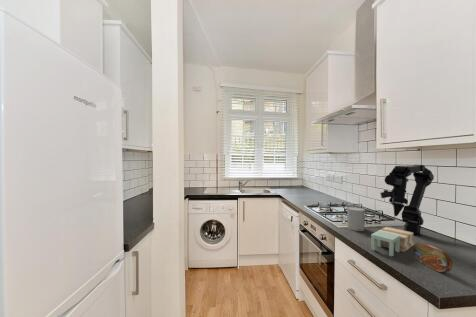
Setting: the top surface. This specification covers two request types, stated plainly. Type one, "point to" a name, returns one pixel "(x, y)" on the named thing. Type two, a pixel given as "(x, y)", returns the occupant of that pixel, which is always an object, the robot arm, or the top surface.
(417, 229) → the robot arm
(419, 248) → the tin
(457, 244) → the top surface
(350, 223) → the grey round cylinder
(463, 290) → the top surface
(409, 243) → the beige ridged block
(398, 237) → the green notched block
